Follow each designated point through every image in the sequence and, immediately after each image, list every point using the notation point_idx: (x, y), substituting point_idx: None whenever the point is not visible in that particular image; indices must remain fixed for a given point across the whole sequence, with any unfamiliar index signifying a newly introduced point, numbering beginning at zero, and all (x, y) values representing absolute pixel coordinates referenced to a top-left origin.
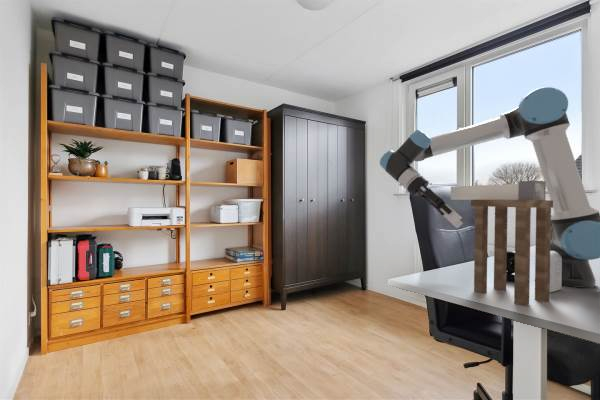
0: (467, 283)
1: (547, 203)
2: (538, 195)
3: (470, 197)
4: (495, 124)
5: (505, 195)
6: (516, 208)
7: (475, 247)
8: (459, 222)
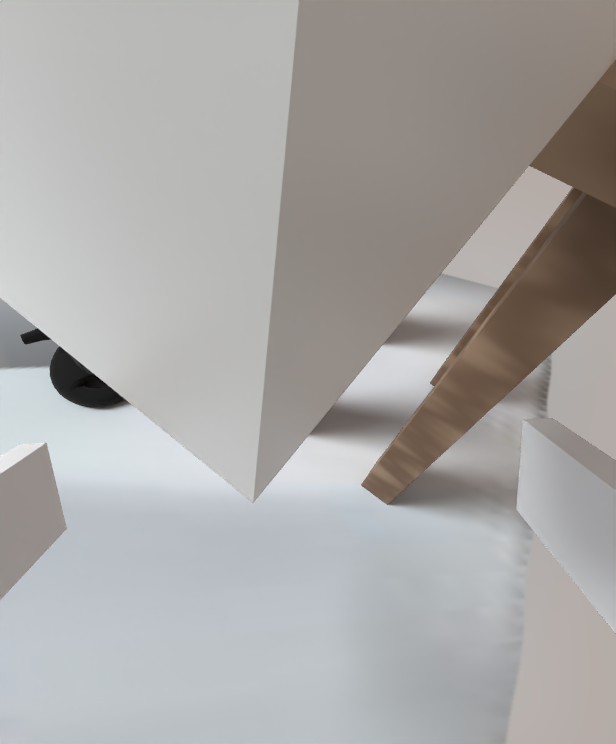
0: (269, 530)
1: None
2: None
3: (579, 94)
4: None
5: None
6: None
7: (467, 428)
8: (28, 481)
